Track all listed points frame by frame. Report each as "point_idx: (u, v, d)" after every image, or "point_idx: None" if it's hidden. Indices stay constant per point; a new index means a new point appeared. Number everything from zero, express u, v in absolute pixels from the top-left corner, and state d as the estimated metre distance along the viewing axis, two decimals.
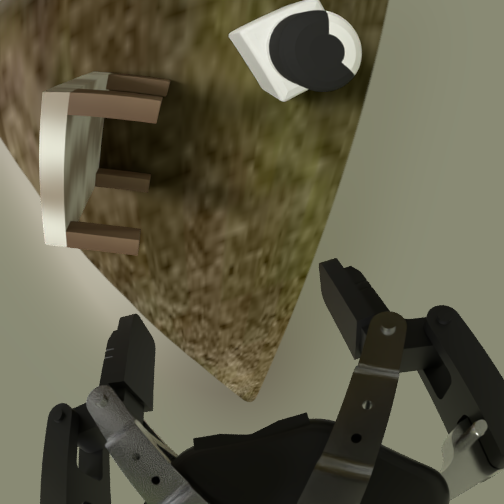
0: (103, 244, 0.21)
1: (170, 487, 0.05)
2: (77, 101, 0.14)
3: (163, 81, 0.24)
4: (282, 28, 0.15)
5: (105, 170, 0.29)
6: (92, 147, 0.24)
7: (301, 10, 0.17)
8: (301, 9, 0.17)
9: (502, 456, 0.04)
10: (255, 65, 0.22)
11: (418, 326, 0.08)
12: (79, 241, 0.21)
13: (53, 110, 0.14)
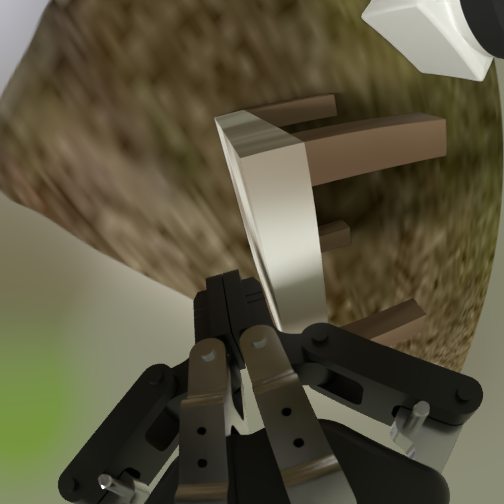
0: (383, 342, 0.15)
1: (210, 476, 0.05)
2: (325, 155, 0.09)
3: (325, 97, 0.18)
4: None
5: None
6: None
7: None
8: None
9: (461, 414, 0.05)
10: (431, 45, 0.13)
11: (296, 342, 0.09)
12: None
13: (279, 187, 0.09)
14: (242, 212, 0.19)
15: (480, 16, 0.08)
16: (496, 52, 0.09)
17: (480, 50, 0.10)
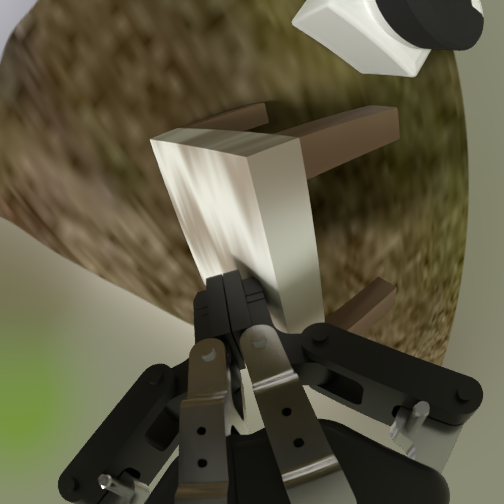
0: (367, 322, 0.16)
1: (210, 476, 0.05)
2: (316, 148, 0.10)
3: (257, 106, 0.19)
4: None
5: None
6: None
7: None
8: None
9: (461, 414, 0.05)
10: (356, 44, 0.15)
11: (297, 342, 0.09)
12: None
13: (280, 183, 0.09)
14: (194, 232, 0.18)
15: (392, 5, 0.09)
16: (419, 43, 0.11)
17: (404, 43, 0.12)
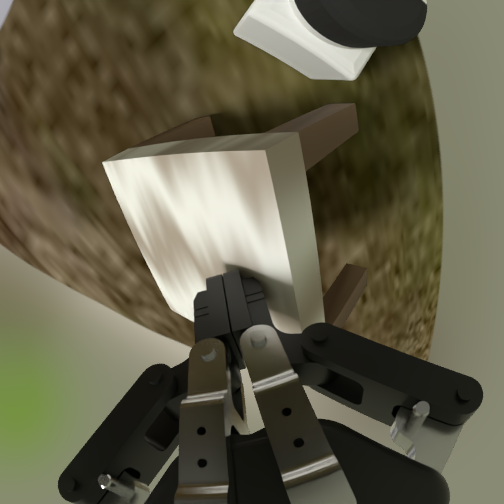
0: (350, 305, 0.18)
1: (209, 477, 0.05)
2: (309, 142, 0.10)
3: (203, 119, 0.19)
4: None
5: None
6: None
7: None
8: None
9: (461, 414, 0.05)
10: (291, 50, 0.15)
11: (297, 342, 0.09)
12: None
13: (289, 175, 0.10)
14: (163, 253, 0.17)
15: (308, 5, 0.09)
16: (346, 42, 0.11)
17: (334, 44, 0.12)
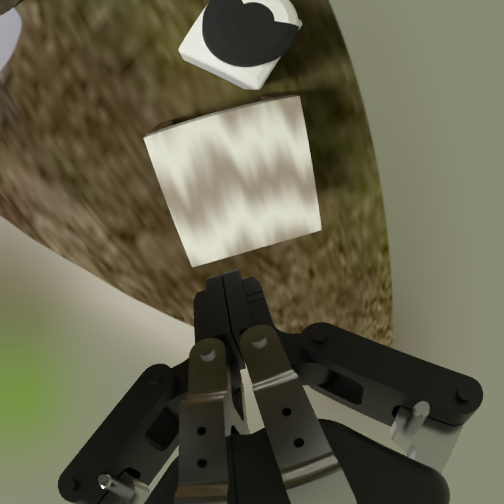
0: None
1: (209, 477, 0.05)
2: None
3: (170, 121, 0.26)
4: (202, 25, 0.14)
5: None
6: None
7: None
8: None
9: (461, 414, 0.05)
10: (216, 71, 0.21)
11: (297, 342, 0.09)
12: None
13: None
14: (205, 195, 0.23)
15: (207, 44, 0.16)
16: (238, 65, 0.17)
17: (236, 66, 0.18)
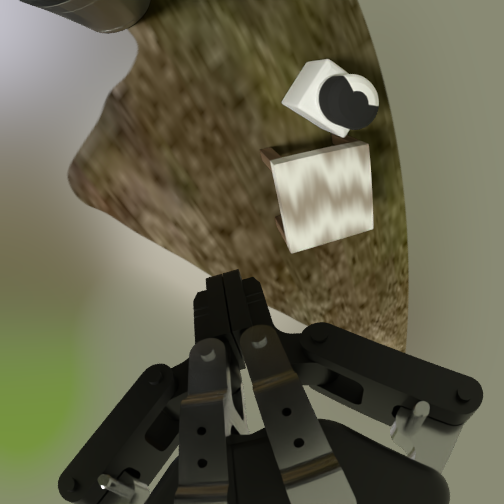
0: None
1: (209, 477, 0.05)
2: None
3: (271, 148, 0.39)
4: (326, 100, 0.27)
5: None
6: None
7: (324, 73, 0.28)
8: (324, 73, 0.28)
9: (461, 414, 0.05)
10: (314, 120, 0.33)
11: (297, 342, 0.09)
12: None
13: None
14: (307, 205, 0.36)
15: (325, 111, 0.28)
16: None
17: None
